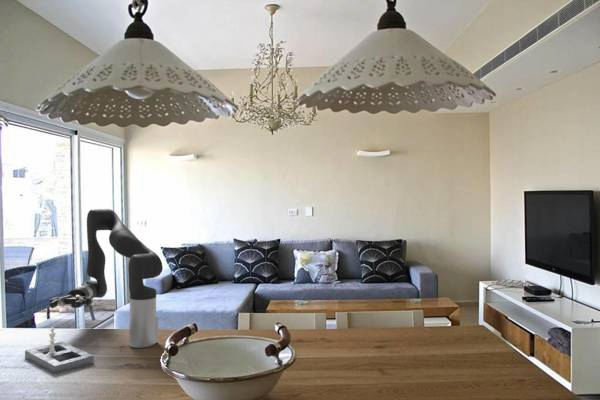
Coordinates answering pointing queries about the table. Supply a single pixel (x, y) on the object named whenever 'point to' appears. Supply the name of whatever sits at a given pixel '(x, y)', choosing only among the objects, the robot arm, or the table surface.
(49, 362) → the grey two-window frame
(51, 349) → the chess piece
